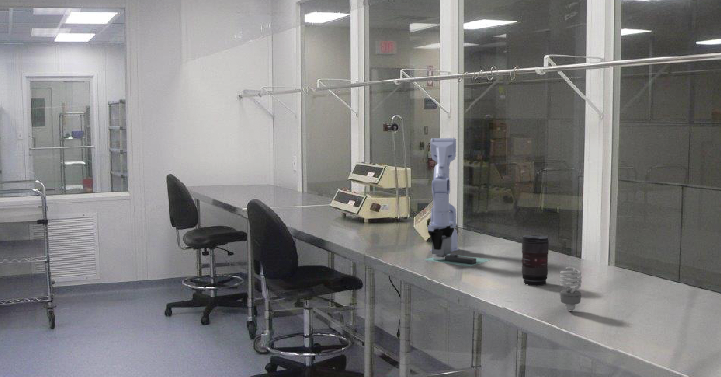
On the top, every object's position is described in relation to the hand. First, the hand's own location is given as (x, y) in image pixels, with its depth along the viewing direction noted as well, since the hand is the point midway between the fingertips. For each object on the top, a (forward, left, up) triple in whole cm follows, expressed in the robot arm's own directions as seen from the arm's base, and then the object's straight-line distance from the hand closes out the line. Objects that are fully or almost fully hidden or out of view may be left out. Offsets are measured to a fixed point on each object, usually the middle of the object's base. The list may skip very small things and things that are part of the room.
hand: (441, 248), depth 274 cm
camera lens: (+14, +45, -5) cm, 47 cm away
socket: (0, 0, -2) cm, 2 cm away
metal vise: (0, +5, -4) cm, 7 cm away
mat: (-3, +5, -4) cm, 7 cm away
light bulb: (+38, +68, -5) cm, 78 cm away
